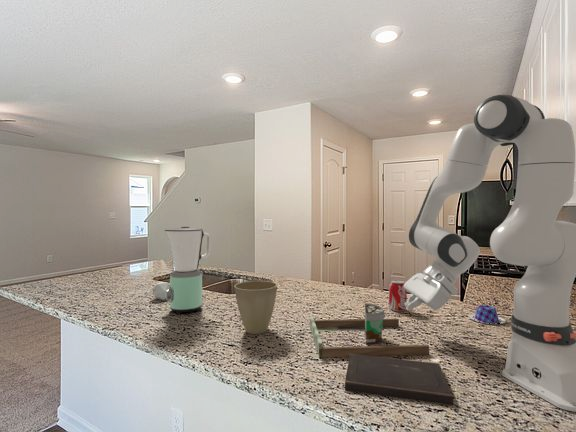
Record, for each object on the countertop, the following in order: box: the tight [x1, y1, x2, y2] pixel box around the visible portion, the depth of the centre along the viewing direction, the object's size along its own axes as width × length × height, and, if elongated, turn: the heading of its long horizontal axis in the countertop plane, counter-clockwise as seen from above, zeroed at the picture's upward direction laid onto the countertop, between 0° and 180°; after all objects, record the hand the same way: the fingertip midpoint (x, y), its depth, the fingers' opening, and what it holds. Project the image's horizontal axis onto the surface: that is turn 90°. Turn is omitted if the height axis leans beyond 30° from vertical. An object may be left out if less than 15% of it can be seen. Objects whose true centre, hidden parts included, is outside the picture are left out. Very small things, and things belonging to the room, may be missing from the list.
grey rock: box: [151, 281, 170, 301], centre depth 154 cm, size 8×9×10 cm
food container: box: [364, 302, 386, 346], centre depth 105 cm, size 12×6×10 cm, turn 168°
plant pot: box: [234, 280, 278, 335], centre depth 113 cm, size 15×15×16 cm
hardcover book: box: [344, 354, 454, 406], centre depth 80 cm, size 16×23×2 cm
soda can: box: [388, 279, 408, 313], centre depth 136 cm, size 7×7×12 cm
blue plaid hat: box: [468, 304, 506, 325], centre depth 123 cm, size 12×12×5 cm
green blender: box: [164, 226, 212, 315], centre depth 137 cm, size 19×13×35 cm
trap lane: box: [309, 315, 430, 358], centre depth 105 cm, size 24×32×4 cm
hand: (407, 307), depth 106 cm, fingers closed
